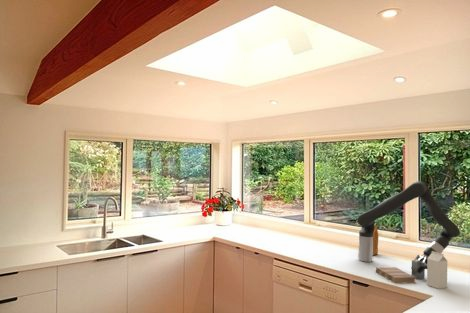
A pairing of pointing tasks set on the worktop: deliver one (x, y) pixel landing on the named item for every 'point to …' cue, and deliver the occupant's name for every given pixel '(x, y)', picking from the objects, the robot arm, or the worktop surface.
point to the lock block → (415, 266)
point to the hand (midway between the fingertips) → (415, 270)
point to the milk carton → (437, 270)
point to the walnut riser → (395, 274)
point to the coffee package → (375, 241)
